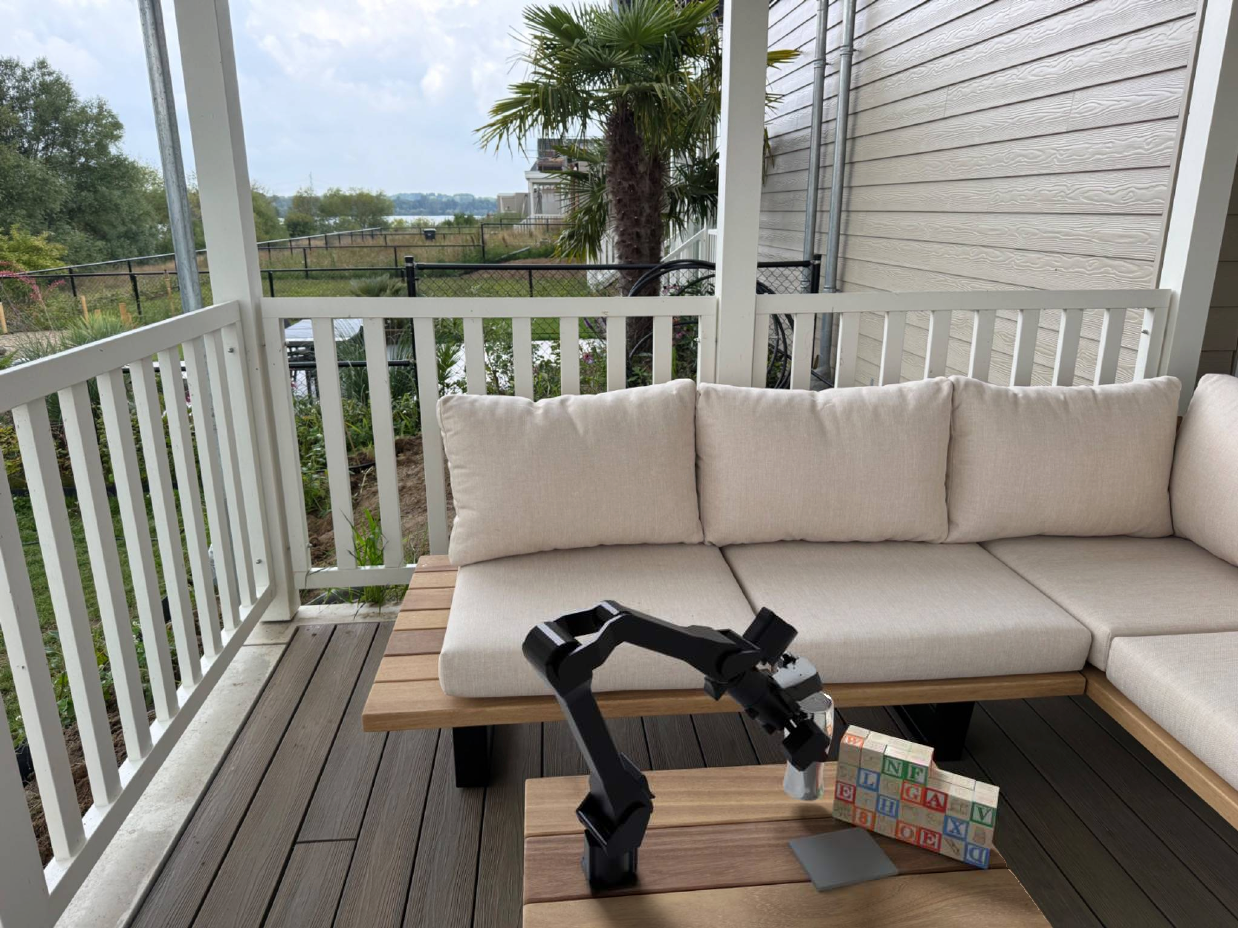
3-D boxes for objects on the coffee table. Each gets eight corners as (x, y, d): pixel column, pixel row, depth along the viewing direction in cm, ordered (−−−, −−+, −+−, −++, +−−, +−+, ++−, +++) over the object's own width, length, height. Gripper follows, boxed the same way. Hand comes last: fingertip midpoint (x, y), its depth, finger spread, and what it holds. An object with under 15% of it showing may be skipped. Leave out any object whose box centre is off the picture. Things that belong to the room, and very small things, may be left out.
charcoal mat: (818, 891, 106) (818, 887, 106) (787, 843, 115) (787, 840, 114) (898, 874, 109) (898, 870, 109) (862, 829, 118) (862, 825, 117)
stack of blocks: (991, 846, 114) (1003, 767, 112) (987, 871, 109) (1000, 788, 107) (840, 796, 125) (849, 722, 122) (830, 816, 119) (839, 739, 117)
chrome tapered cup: (807, 809, 117) (815, 718, 113) (770, 785, 122) (776, 697, 118) (836, 790, 121) (845, 702, 117) (799, 767, 126) (806, 682, 123)
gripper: (823, 681, 106) (888, 743, 111) (763, 619, 123) (822, 676, 129) (764, 742, 106) (832, 801, 112) (712, 671, 123) (773, 725, 129)
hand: (815, 745), depth 120 cm, fingers closed on chrome tapered cup, 6 cm apart
